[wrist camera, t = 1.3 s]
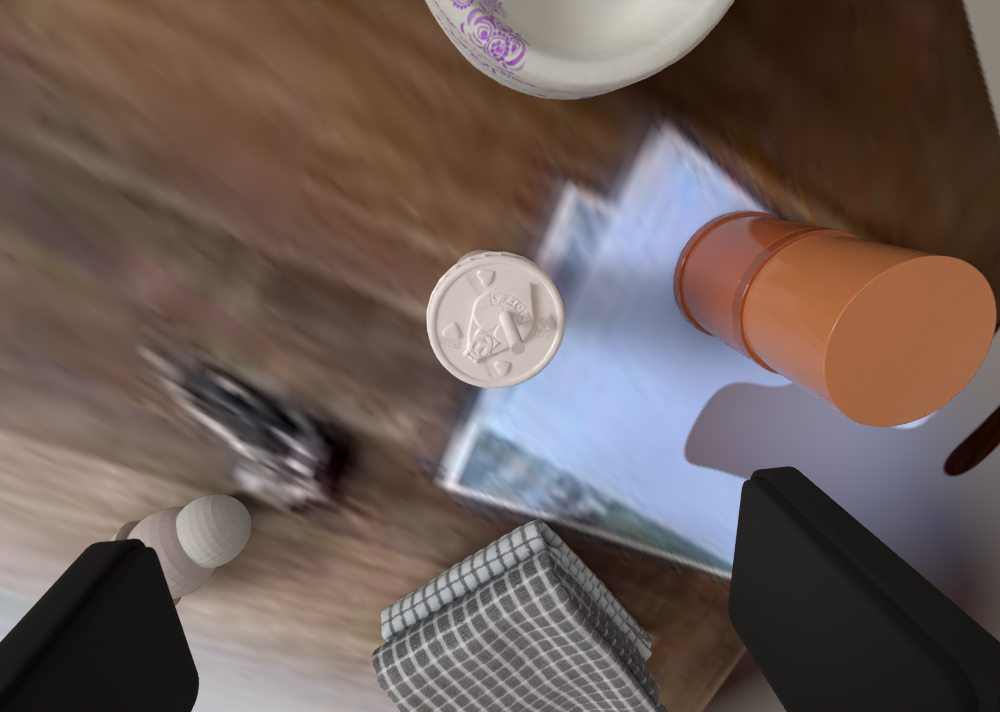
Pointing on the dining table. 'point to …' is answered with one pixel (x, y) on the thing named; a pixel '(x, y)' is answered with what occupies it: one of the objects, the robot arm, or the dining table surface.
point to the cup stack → (839, 313)
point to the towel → (516, 636)
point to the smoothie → (495, 319)
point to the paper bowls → (575, 40)
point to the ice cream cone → (193, 539)
